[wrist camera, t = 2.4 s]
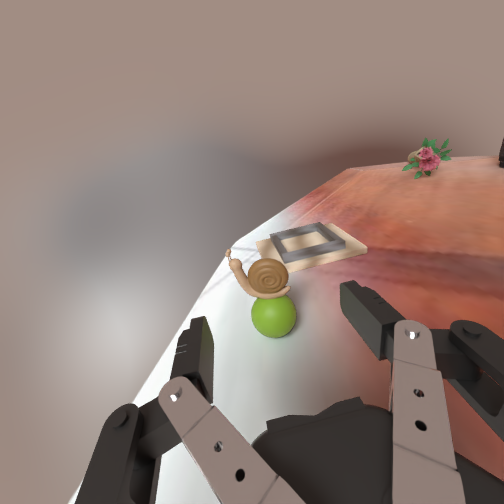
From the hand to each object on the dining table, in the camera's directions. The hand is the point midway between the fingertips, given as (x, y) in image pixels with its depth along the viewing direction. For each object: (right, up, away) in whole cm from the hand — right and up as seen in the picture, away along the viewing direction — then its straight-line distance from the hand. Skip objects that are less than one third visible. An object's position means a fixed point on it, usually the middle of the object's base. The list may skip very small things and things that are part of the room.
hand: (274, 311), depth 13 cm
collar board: (+9, +4, +33) cm, 35 cm away
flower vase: (+57, +31, +66) cm, 92 cm away
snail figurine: (+1, -7, +16) cm, 17 cm away
